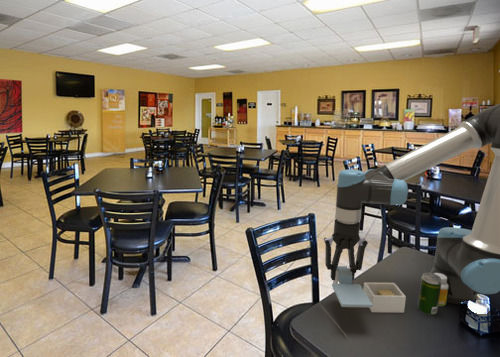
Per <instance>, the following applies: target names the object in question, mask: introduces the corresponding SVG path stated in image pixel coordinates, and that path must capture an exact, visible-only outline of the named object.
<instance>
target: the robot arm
mask: <svg viewBox="0 0 500 357" xmlns="http://www.w3.org/2000/svg"><path fill="white" fill-rule="evenodd" d="M488 145H490V150H491V151H492V152H493V154H494V158H493V162H492V164H491V167H490V171H489V173H488V176H487V177H488V178H487V180H486V184H485V187H484V189H483V193H482V196H481V199H480V202H479V203H480V204H479V206H478V210H477V212H476V215H475V216H476V217H475V219H474V223H473V225H472V229H467V228H461V227H449V226H448V227H446V226H445V227H441V228H440V229H439V231H438V233H437V237H436V246H435V254H434V259H433V260H434V261H433V266H432V269H431V270H430V272H429V273H433V274H434V273H441V274H443V275H445V276H447V284H448V286H449V287H448V293H447V300H446V303H450V304H454V305H460V303H461V302H464V301H469V300H471V301H473V300H475V297H476V294H477V295H478V294H483V295H493V294H497V293H499V292H500V103H498V104H495V105H493V106H490V107H488V108H487V109H484V110H482V111H479V112H478V113H477V114H474V115H473V116H471V117H469V118H468V119H465V120H463V121H461V122H460V123H459V127H456V128H455V129H452V130H450V131H448V132H447V133H445V134H442V135H441V136H439V137H436V138H435V139H434V140H431V141H430V142H429V141H428V142H427V143H425V144H424V145H421V146H419V147H417V148H415V149H414V150H411V151H409V152H407V153H406V154H404V155H401V156H400V157H398V158H395V159H394V160H392V161H390V162H388V163H386V164H384V165H382V166H380V167H378V168H370V169H367V170H366V171H365V172H364V171H362V170H358V169H342V170H341V171H339V173H338V178H337V179H338V180H337V186H336V188H337V189H336V198H335V200H336V201H335V212H334V213H335V214H334V218H335V219H334V224H333V226H334V227H333V233H332V235H331V236H330V237H329V238H327V237H324V238H323V241H324V244H325V258H324V259H325V267H326V269H327V270H328V271H329V270H330V279H331V281H332V284H339V282H338V274H339V272H338V270H337V267H338V266H339V262H340V259H341V256H342V253H343V250H347V255H348V256H347V257H348V265H349V267H347V268H348V269H349V271H350V273H351V274H352V281H354V280H355V274H356V273H357V271H361V270H362V268H363V262H364V255H365V251H366V250H365V249H366V248H367V246H368V245H369V244H368V241H367V240H366V239H365V238H362V237H360V227H361V222H360V221H361V218H362V206H363V203H364V204H368V203H369V204H378V205H389V206H394V205H395V206H398V205H399V206H401V205H404V204H405V203H406V201H407V200H408V194H409V190H408V184H407V182H406V181H407V180H409V179H411V178H413V177H415V176H417V175H419V174H421V173H424V172H425V171H427V170H430V169H432V168H434V167H435V166H438V165H440V164H442V163H444V162H446V161H448V160H450V159H452V158H455V157H456V156H458V155H461V154H463V153H464V152H467V151H469V150H471V149H481V148H484V147H485V146H488ZM333 242H334V243H335V250H334V254H333V257H332V245H333ZM357 244H358V247H357V252H356V258H355V246H356V245H357ZM476 298H477V297H476Z"/></svg>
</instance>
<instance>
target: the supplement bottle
mask: <svg viewBox="0 0 500 357" xmlns="http://www.w3.org/2000/svg"><path fill="white" fill-rule="evenodd" d="M434 274H436V275H438V276H439V277H440V278H441V289H440V295H439V302H438V307H444V306H445V305H447V302H446V300H447V293H448V287H449V286H448V284H447V276H445V275H443V274H441V273H434Z"/></svg>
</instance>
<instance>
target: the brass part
mask: <svg viewBox="0 0 500 357" xmlns="http://www.w3.org/2000/svg"><path fill="white" fill-rule="evenodd" d="M377 295H389V296H396V295H395V294H393V293H392V292H391V291H390V290H388V289H386V290H379V291H377Z"/></svg>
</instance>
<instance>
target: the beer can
mask: <svg viewBox="0 0 500 357" xmlns="http://www.w3.org/2000/svg"><path fill="white" fill-rule="evenodd" d="M419 286H420V287H419V293H418V301H417V309H418V311H419V312H421V313H422V314H425V315H427V316H435V315H437V313H438V308H439V306H438V302H439V295H440V289H441V278H440V277H439V276H438V275H436V274H433V273H430V272H424V273H422V276H421V278H420V285H419Z"/></svg>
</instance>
